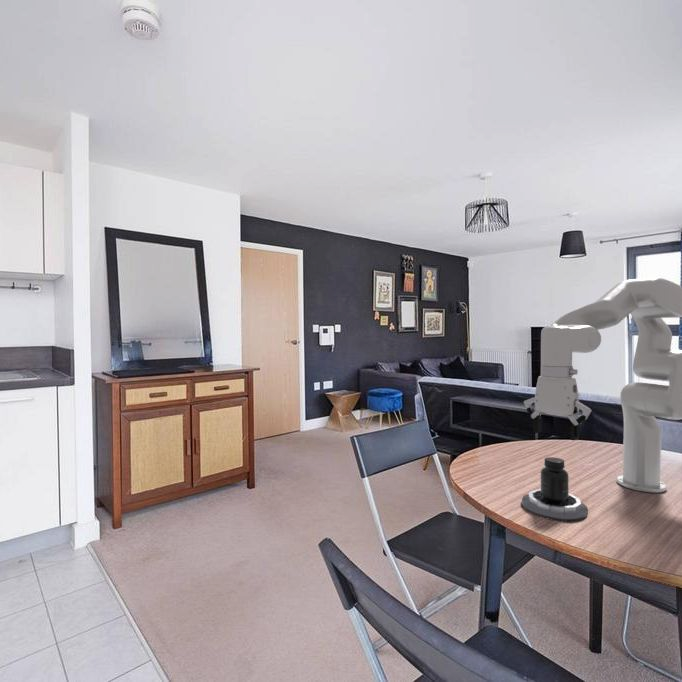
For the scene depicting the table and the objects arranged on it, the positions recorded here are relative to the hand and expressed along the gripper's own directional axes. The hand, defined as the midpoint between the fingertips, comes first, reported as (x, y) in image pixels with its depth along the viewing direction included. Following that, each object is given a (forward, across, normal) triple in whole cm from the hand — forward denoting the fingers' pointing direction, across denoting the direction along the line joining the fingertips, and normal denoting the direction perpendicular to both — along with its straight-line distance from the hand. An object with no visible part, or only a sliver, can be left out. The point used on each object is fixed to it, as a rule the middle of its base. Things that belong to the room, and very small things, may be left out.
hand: (555, 435), depth 118 cm
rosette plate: (+20, 0, 0) cm, 20 cm away
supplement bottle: (+19, 0, 0) cm, 19 cm away
